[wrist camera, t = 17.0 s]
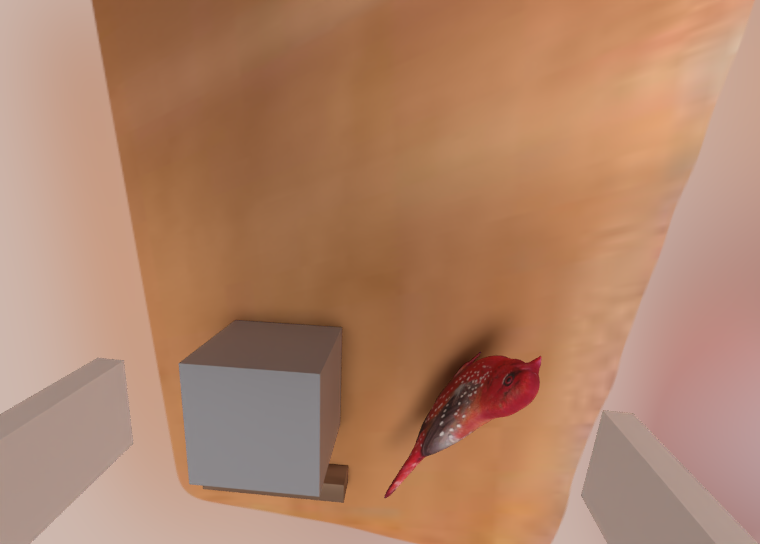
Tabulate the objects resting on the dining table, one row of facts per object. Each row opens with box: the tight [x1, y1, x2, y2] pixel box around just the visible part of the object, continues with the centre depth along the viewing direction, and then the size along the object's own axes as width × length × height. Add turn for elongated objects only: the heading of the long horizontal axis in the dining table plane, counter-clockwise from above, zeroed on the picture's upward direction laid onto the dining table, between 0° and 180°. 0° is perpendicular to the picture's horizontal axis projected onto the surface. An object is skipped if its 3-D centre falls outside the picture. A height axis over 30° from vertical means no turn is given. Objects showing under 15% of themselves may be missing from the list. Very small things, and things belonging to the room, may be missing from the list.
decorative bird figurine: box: [384, 352, 541, 498], centre depth 30 cm, size 3×18×10 cm, turn 142°
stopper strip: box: [203, 464, 348, 503], centre depth 37 cm, size 2×14×2 cm, turn 87°
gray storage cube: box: [179, 320, 342, 497], centre depth 31 cm, size 10×10×9 cm
